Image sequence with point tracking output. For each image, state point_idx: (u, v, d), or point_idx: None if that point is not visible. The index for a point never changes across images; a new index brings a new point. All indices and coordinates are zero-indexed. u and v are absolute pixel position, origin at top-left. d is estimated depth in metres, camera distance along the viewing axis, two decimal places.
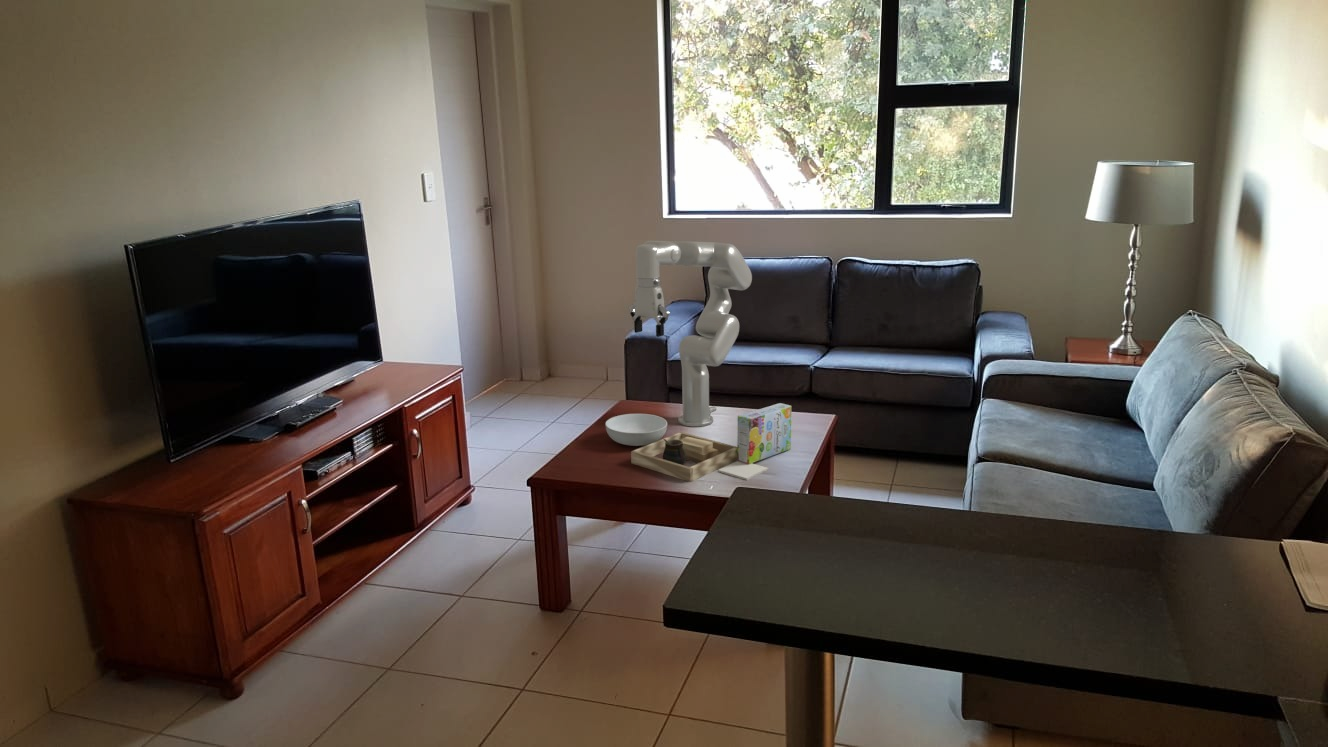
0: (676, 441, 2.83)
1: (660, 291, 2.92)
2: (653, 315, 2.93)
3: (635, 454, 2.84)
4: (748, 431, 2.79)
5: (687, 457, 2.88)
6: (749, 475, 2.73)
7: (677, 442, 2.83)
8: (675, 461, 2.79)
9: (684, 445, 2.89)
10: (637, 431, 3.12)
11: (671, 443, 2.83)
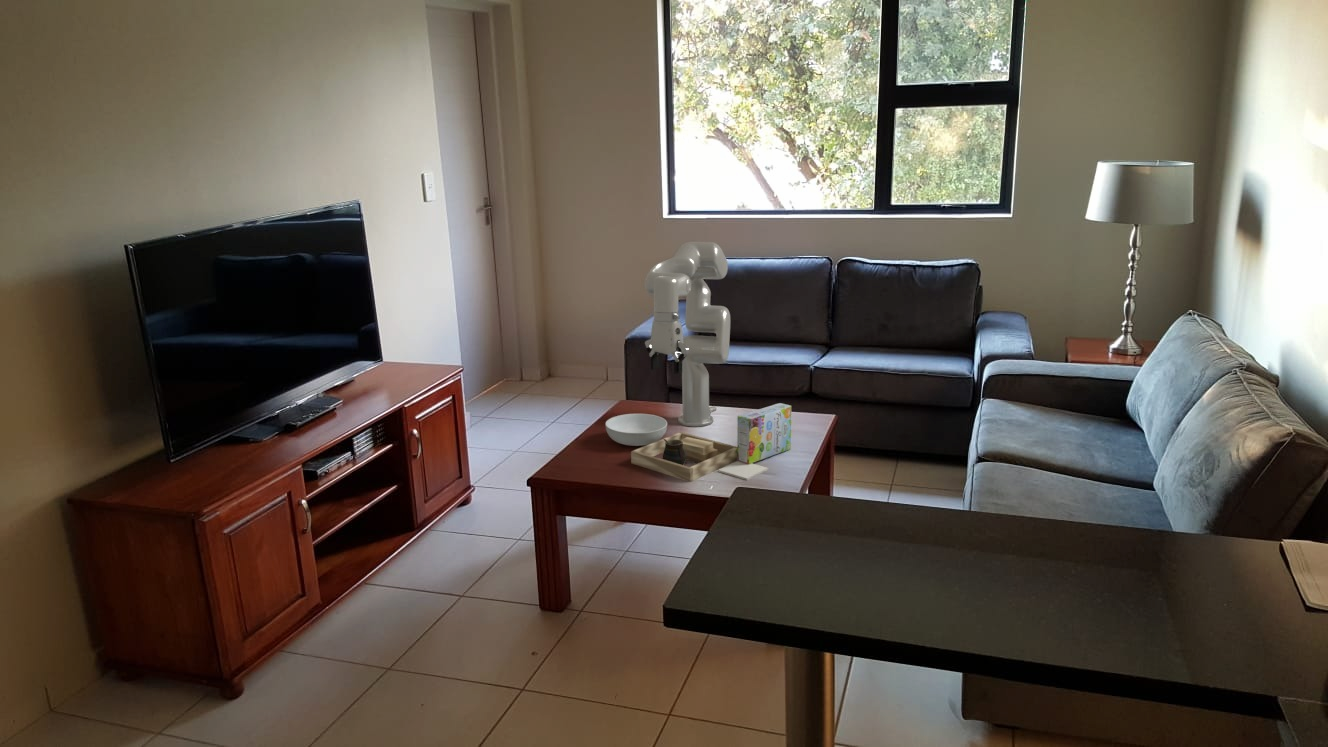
0: (676, 441, 2.83)
1: (679, 326, 2.75)
2: (671, 351, 2.75)
3: (635, 454, 2.84)
4: (748, 431, 2.79)
5: (687, 457, 2.88)
6: (749, 475, 2.73)
7: (677, 442, 2.83)
8: (675, 461, 2.79)
9: (685, 446, 2.88)
10: (637, 431, 3.12)
11: (671, 443, 2.83)
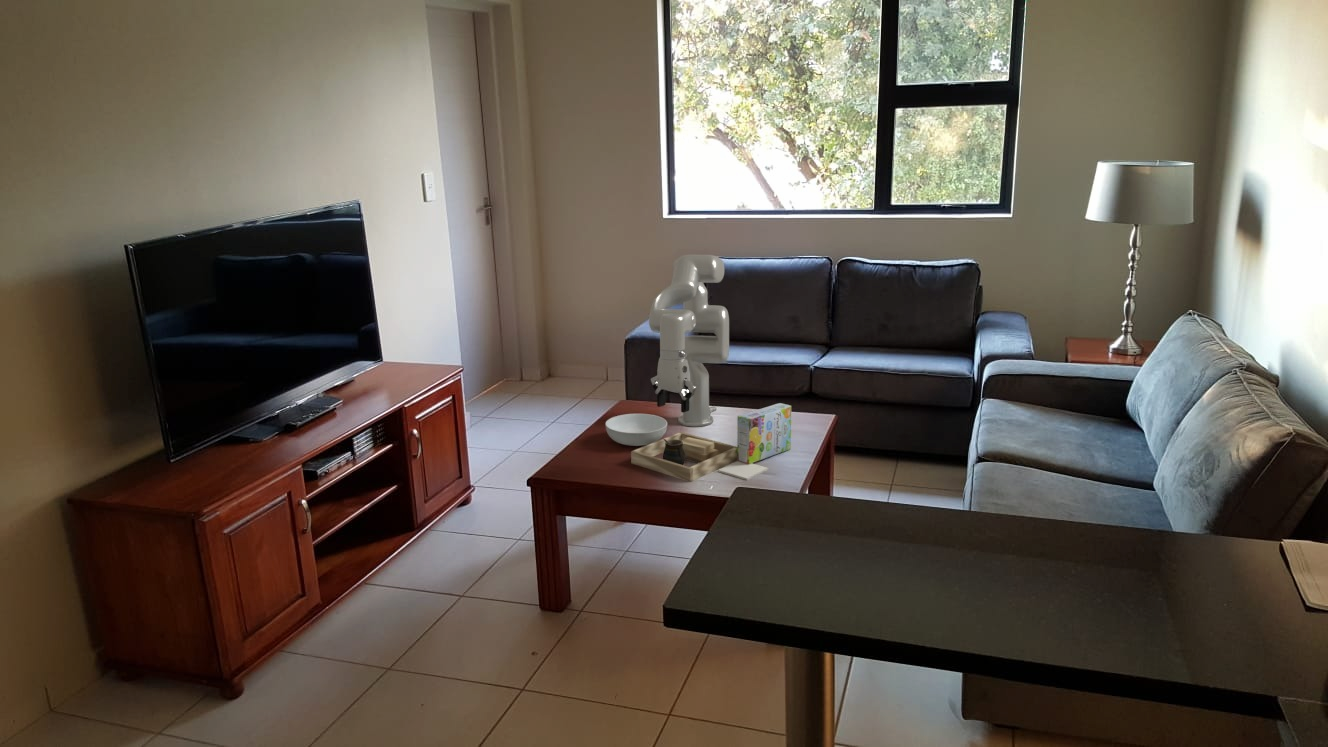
0: (676, 441, 2.83)
1: (686, 364, 2.72)
2: (678, 389, 2.72)
3: (635, 454, 2.84)
4: (748, 431, 2.79)
5: (687, 457, 2.88)
6: (749, 475, 2.73)
7: (677, 442, 2.83)
8: (675, 461, 2.79)
9: (686, 446, 2.88)
10: (637, 431, 3.12)
11: (671, 443, 2.83)
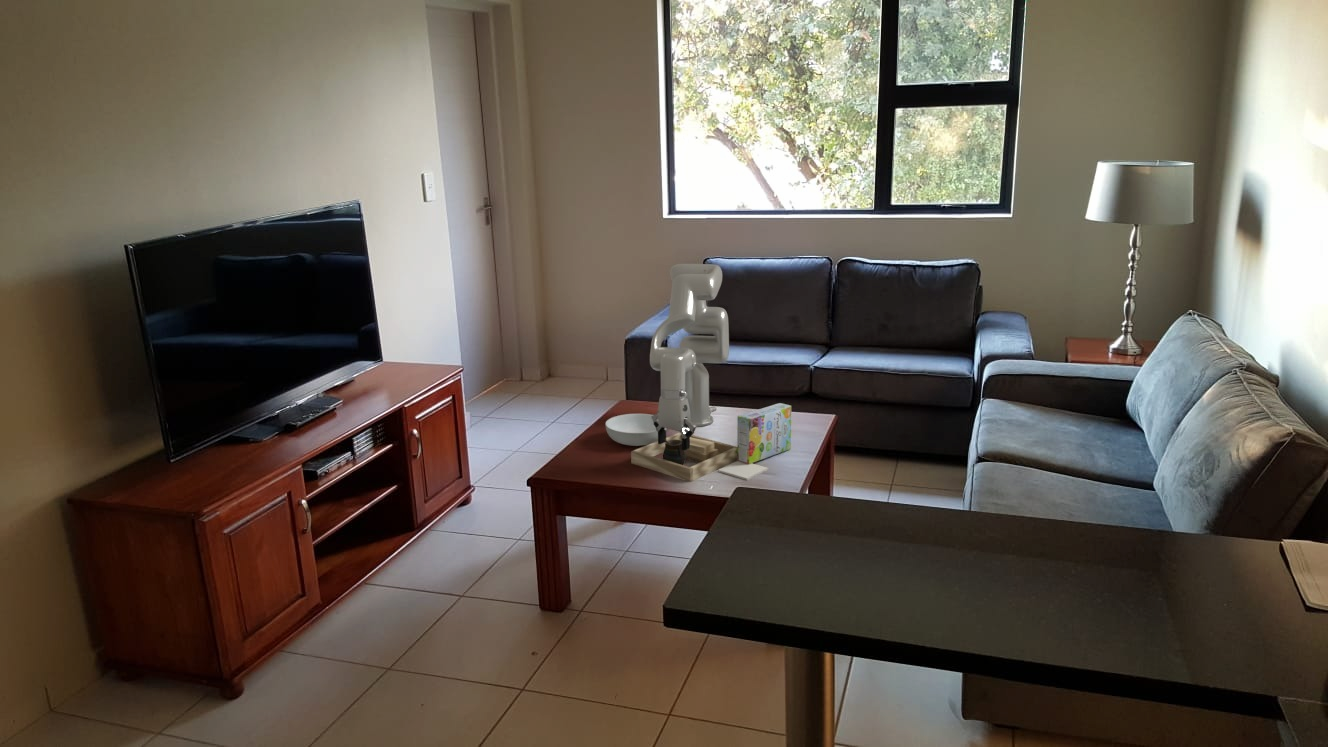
0: (676, 441, 2.83)
1: (686, 403, 2.75)
2: (679, 428, 2.75)
3: (635, 454, 2.84)
4: (748, 431, 2.79)
5: (687, 457, 2.88)
6: (749, 475, 2.73)
7: (677, 442, 2.83)
8: (675, 461, 2.79)
9: None
10: (637, 431, 3.12)
11: (671, 443, 2.83)
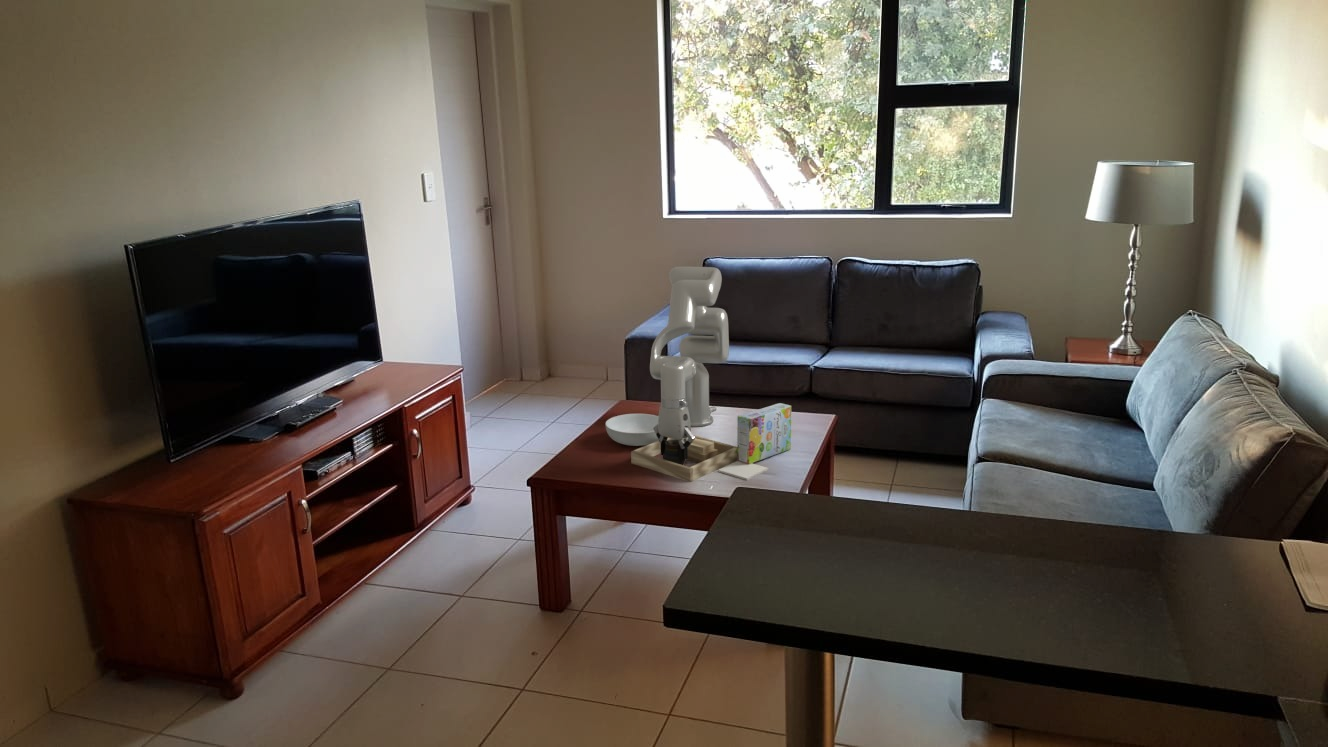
0: (676, 441, 2.83)
1: (686, 412, 2.76)
2: (679, 437, 2.76)
3: (635, 454, 2.84)
4: (748, 431, 2.79)
5: None
6: (749, 475, 2.73)
7: (677, 442, 2.83)
8: (675, 461, 2.79)
9: None
10: (637, 431, 3.12)
11: (671, 443, 2.83)
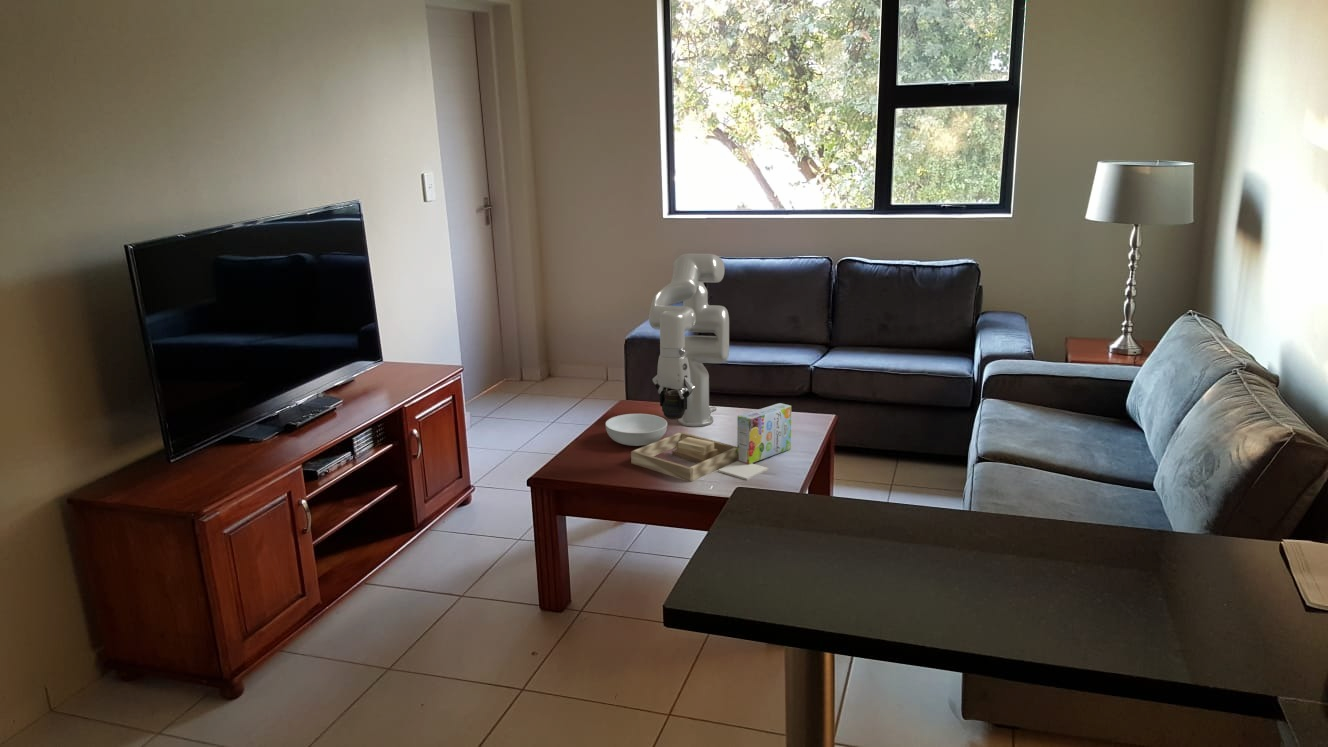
0: (676, 392, 2.79)
1: (686, 361, 2.72)
2: (678, 387, 2.72)
3: (635, 454, 2.84)
4: (748, 431, 2.79)
5: (687, 457, 2.88)
6: (749, 475, 2.73)
7: (677, 393, 2.79)
8: (674, 412, 2.75)
9: (686, 445, 2.88)
10: (637, 431, 3.12)
11: (670, 394, 2.79)
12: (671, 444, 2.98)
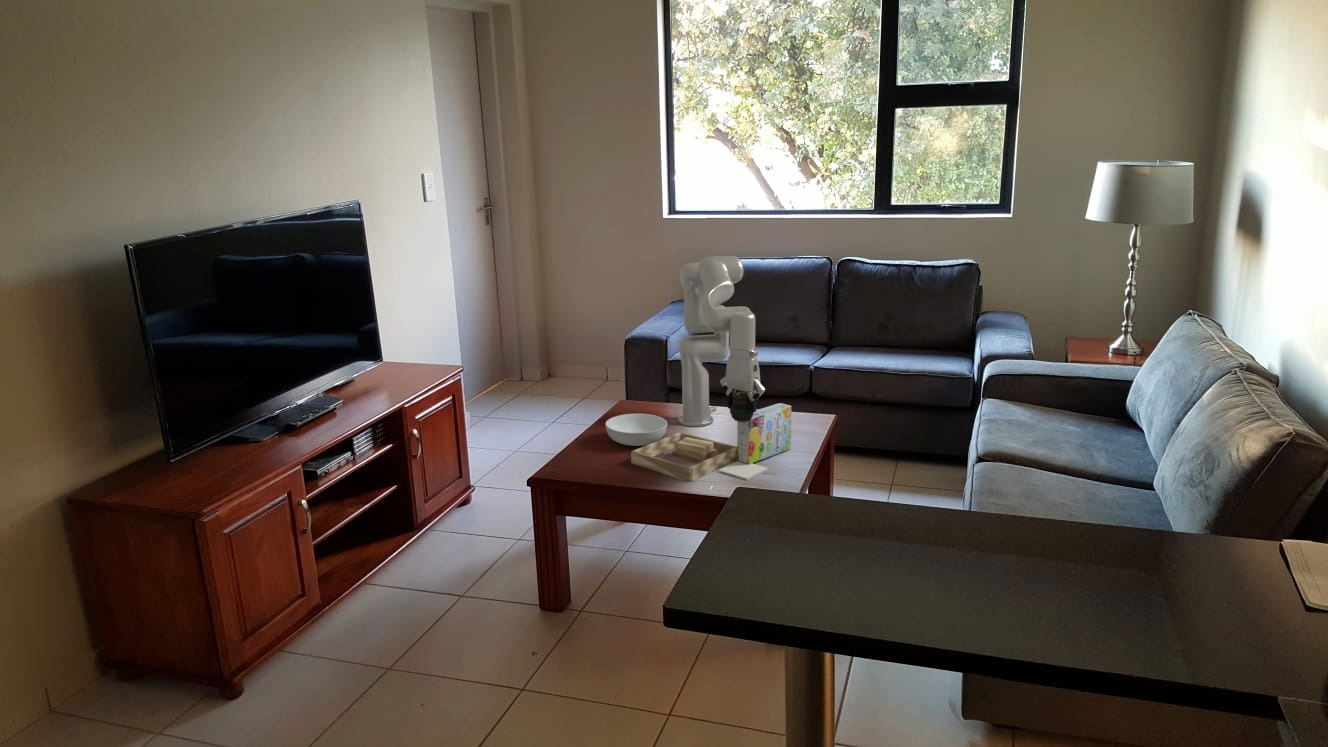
0: (744, 394, 2.74)
1: (756, 363, 2.67)
2: (748, 389, 2.67)
3: (635, 454, 2.84)
4: (748, 431, 2.79)
5: (687, 457, 2.88)
6: (749, 475, 2.73)
7: (745, 395, 2.74)
8: (743, 414, 2.70)
9: (685, 446, 2.88)
10: (637, 431, 3.12)
11: (738, 396, 2.75)
12: (671, 444, 2.98)
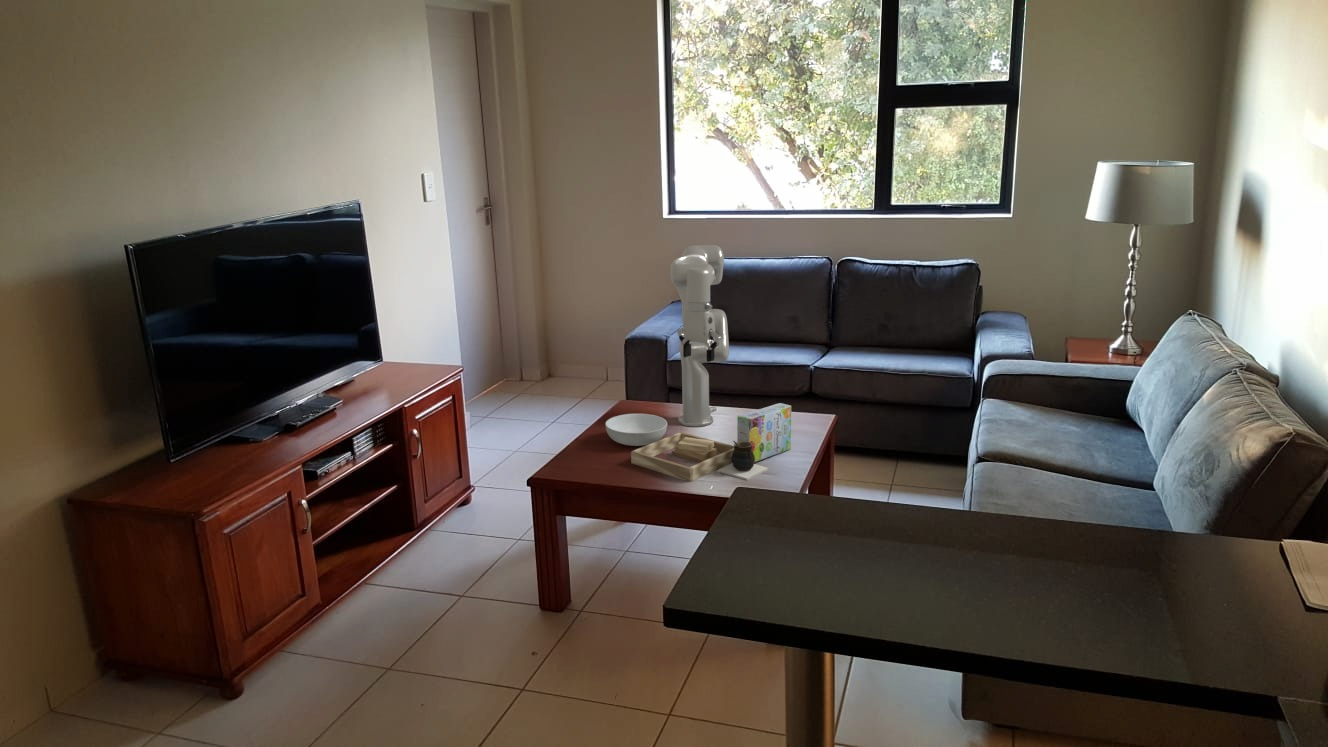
0: (745, 443, 2.79)
1: (711, 315, 2.85)
2: (704, 340, 2.86)
3: (635, 454, 2.84)
4: (748, 431, 2.79)
5: (687, 457, 2.88)
6: (749, 475, 2.73)
7: (746, 444, 2.78)
8: (745, 463, 2.74)
9: (687, 446, 2.88)
10: (637, 431, 3.12)
11: (740, 445, 2.79)
12: (671, 444, 2.98)
